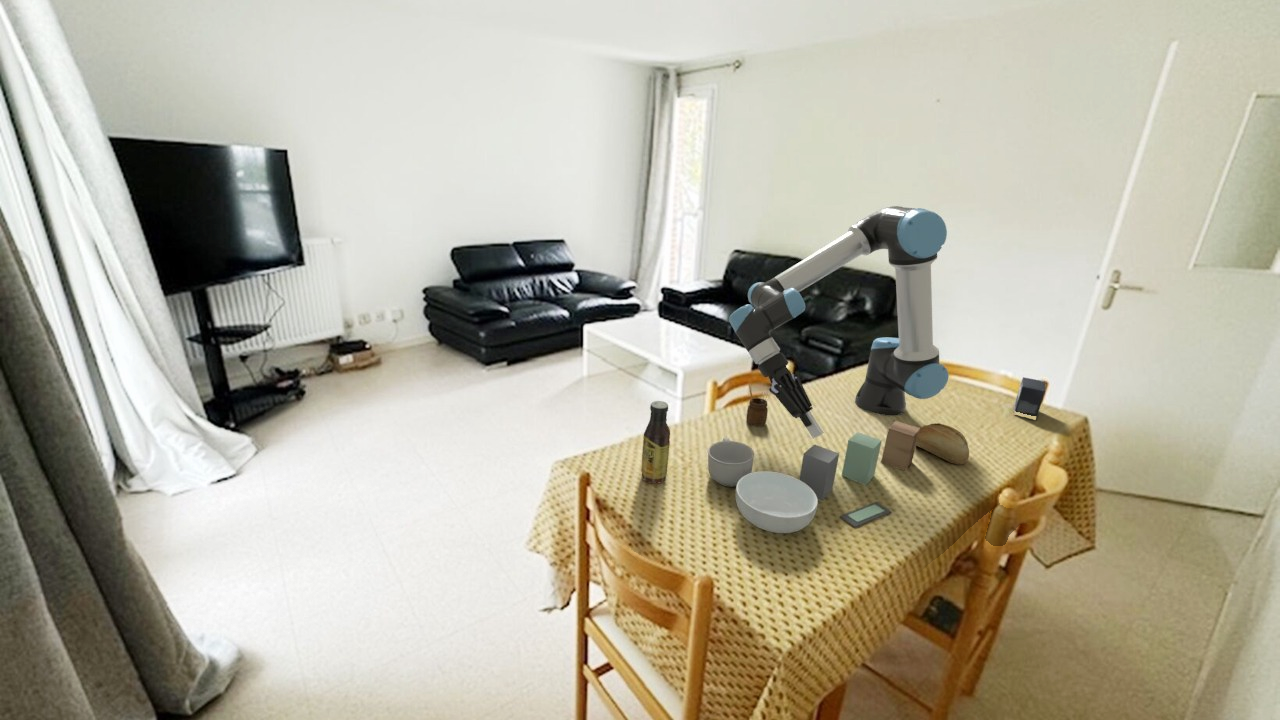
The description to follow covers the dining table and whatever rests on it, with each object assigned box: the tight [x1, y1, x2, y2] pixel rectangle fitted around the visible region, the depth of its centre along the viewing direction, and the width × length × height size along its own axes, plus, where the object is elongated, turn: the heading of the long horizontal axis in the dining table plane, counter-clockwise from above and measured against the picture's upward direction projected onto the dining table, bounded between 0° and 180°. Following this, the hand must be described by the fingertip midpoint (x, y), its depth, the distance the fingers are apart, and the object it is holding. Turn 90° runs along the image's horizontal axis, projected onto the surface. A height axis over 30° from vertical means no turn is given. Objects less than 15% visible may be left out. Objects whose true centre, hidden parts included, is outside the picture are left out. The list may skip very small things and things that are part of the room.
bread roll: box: [916, 422, 970, 465], centre depth 142 cm, size 10×15×8 cm, turn 36°
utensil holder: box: [745, 384, 771, 427], centre depth 155 cm, size 6×6×12 cm
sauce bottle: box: [640, 400, 671, 484], centre depth 123 cm, size 7×6×20 cm
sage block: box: [841, 431, 883, 486], centre depth 129 cm, size 6×6×10 cm
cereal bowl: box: [735, 470, 819, 534], centre depth 111 cm, size 17×17×7 cm
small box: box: [1013, 377, 1046, 417], centre depth 169 cm, size 11×6×10 cm, turn 144°
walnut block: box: [880, 420, 920, 471], centre depth 136 cm, size 6×6×10 cm
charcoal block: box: [798, 444, 840, 502], centre depth 122 cm, size 6×6×10 cm
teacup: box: [707, 436, 755, 487], centre depth 127 cm, size 14×11×8 cm
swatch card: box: [839, 501, 892, 529], centre depth 115 cm, size 12×4×1 cm, turn 119°
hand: (818, 435), depth 135 cm, fingers closed
